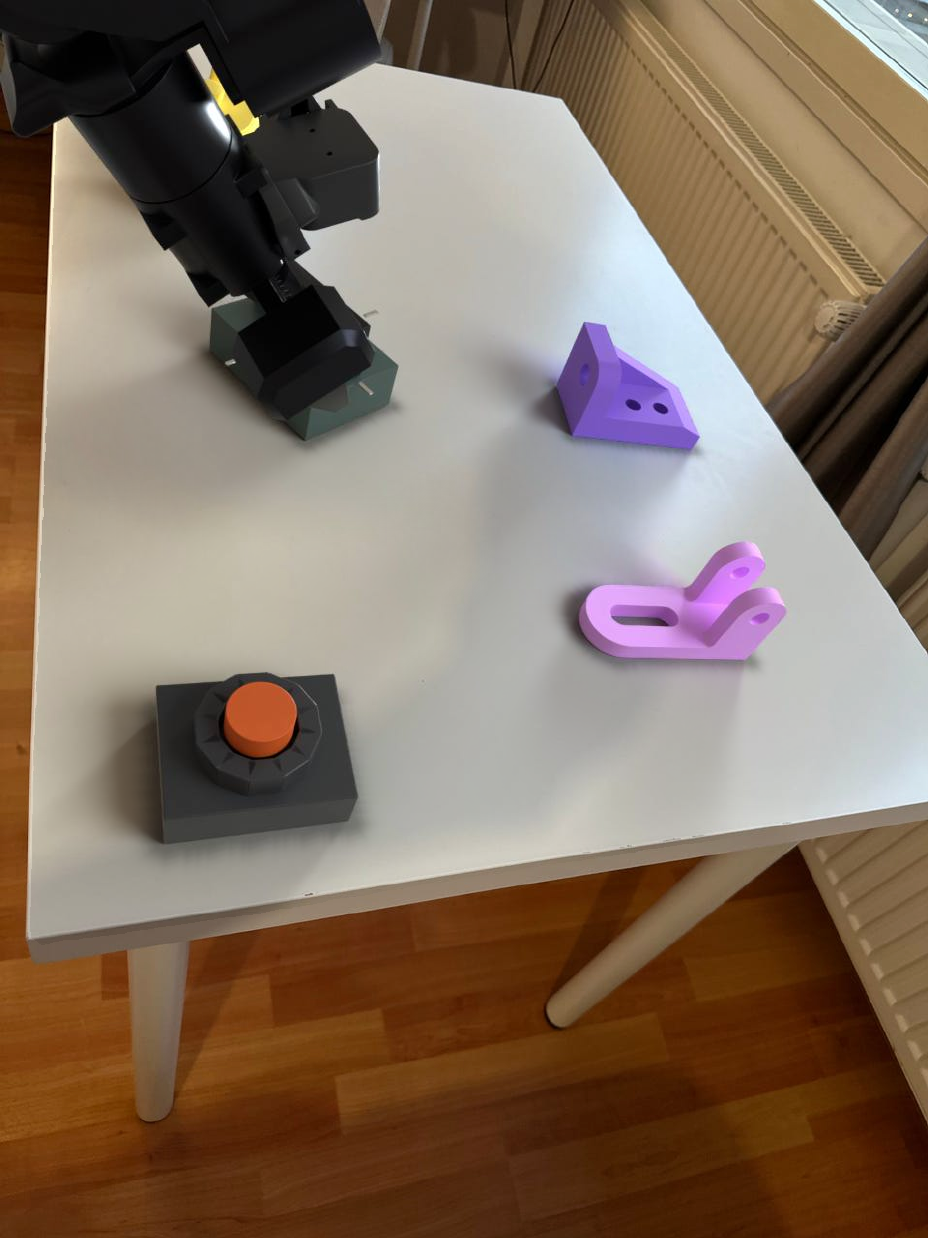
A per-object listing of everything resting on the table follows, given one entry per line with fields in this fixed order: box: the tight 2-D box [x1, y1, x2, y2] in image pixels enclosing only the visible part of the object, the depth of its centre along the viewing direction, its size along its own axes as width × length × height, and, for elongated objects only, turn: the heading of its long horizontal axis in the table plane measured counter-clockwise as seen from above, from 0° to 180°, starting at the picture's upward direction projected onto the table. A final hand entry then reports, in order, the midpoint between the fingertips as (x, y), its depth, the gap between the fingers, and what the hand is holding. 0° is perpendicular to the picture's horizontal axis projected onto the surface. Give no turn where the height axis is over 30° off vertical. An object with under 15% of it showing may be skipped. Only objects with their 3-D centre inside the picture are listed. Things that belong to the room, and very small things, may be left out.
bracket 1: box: [556, 321, 701, 450], centre depth 78 cm, size 12×7×7 cm, turn 98°
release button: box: [224, 682, 297, 757], centre depth 46 cm, size 4×4×2 cm
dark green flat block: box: [208, 297, 399, 442], centre depth 70 cm, size 15×15×4 cm
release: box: [155, 671, 359, 845], centre depth 48 cm, size 10×8×5 cm
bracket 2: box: [578, 541, 787, 661], centre depth 63 cm, size 13×6×7 cm, turn 99°
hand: (309, 355), depth 54 cm, fingers open, 9 cm apart
